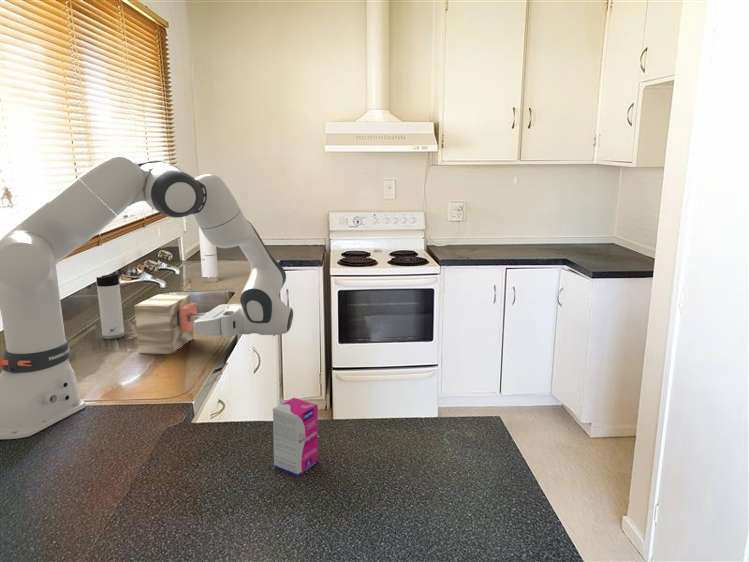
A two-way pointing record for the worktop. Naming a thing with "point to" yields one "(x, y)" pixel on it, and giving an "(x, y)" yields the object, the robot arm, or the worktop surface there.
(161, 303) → the block
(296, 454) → the supplement box
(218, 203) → the robot arm
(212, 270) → the cylindrical container
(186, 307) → the pink-tipped peg
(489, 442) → the worktop surface
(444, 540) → the worktop surface
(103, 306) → the travel mug
